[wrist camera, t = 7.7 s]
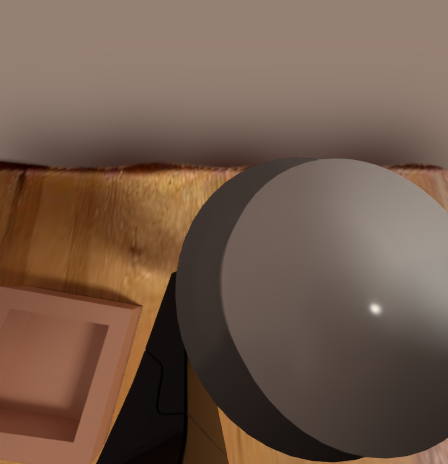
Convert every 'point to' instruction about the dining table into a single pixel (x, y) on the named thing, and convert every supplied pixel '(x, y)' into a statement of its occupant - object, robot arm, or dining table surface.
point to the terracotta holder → (60, 372)
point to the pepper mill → (321, 308)
